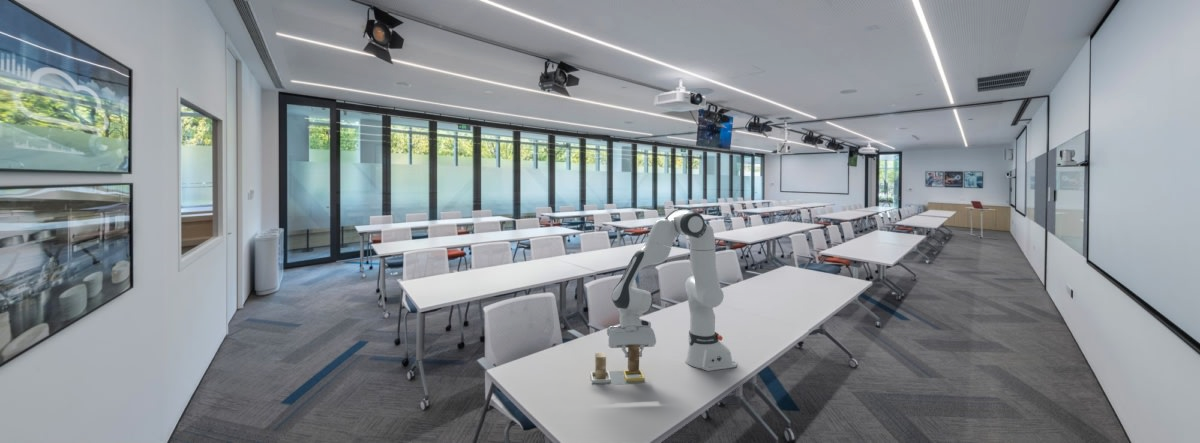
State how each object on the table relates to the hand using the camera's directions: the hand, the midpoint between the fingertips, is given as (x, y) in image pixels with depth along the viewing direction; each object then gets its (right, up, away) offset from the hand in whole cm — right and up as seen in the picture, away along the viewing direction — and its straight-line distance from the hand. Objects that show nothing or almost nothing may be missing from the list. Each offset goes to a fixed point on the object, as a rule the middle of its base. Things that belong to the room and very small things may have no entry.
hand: (633, 356), depth 179 cm
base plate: (-7, -10, +1) cm, 12 cm away
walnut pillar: (0, -6, +1) cm, 6 cm away
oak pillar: (-14, -9, 0) cm, 17 cm away
